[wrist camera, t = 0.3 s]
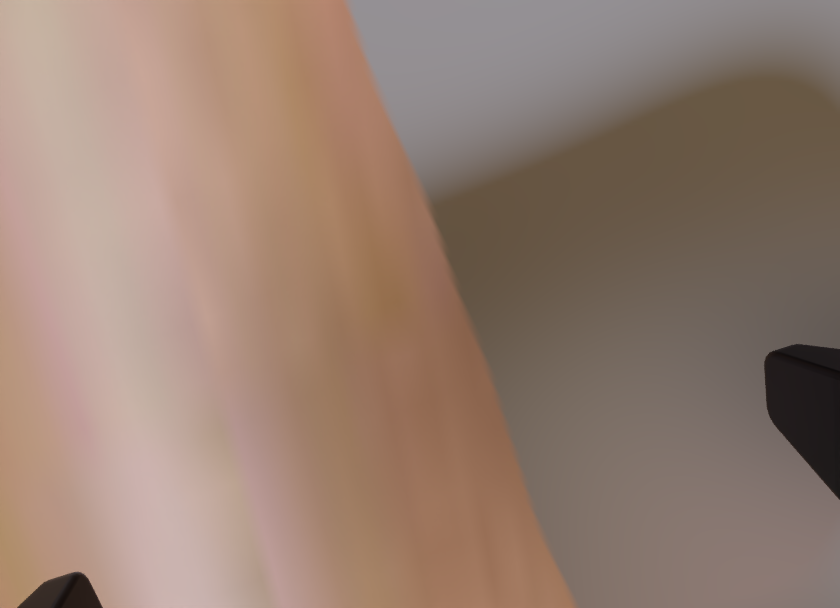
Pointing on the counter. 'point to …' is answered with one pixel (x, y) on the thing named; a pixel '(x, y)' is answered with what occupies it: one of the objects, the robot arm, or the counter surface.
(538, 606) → the counter surface
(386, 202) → the counter surface
